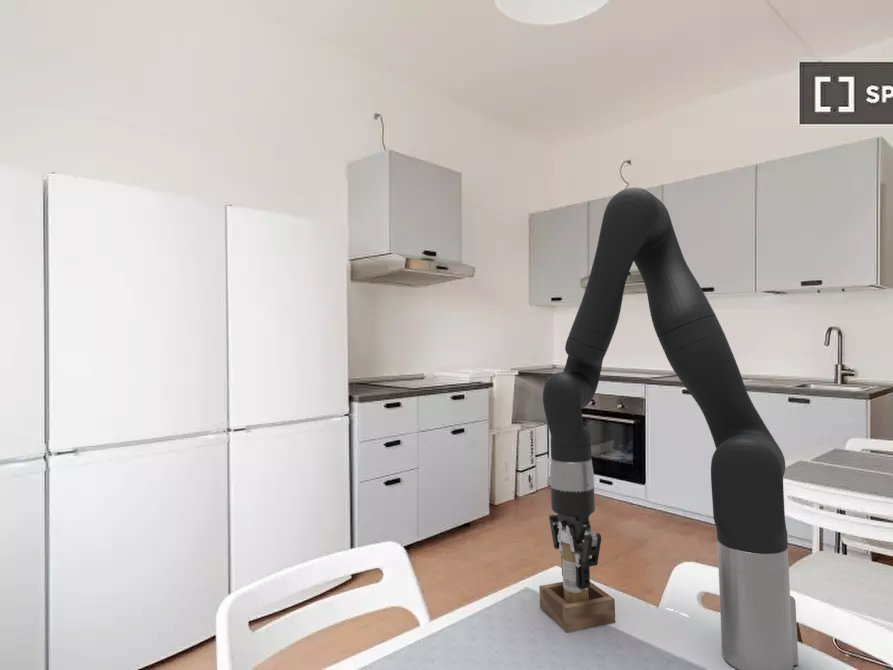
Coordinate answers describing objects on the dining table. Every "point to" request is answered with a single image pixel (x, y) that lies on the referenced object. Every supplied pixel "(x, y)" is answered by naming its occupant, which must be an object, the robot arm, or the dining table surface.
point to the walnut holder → (577, 608)
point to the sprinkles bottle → (571, 572)
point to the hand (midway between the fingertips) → (575, 581)
